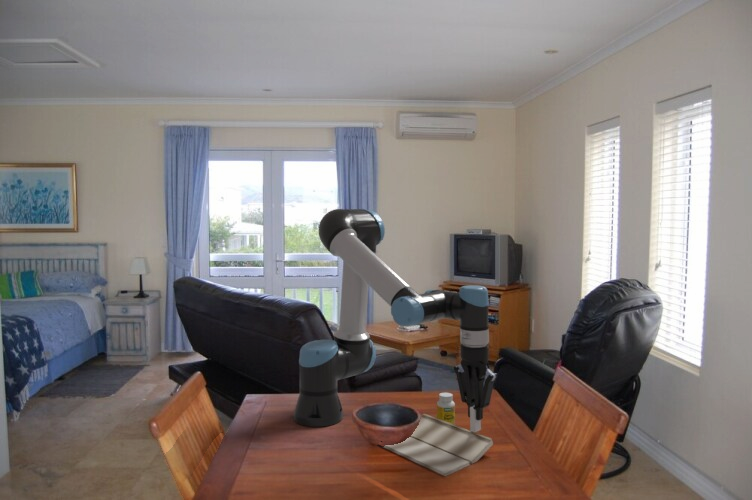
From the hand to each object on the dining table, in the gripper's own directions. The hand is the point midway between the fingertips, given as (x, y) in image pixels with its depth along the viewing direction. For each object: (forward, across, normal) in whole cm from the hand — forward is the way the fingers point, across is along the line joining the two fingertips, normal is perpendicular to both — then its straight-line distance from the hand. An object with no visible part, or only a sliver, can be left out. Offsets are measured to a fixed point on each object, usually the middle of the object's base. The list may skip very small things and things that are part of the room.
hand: (475, 430), depth 148 cm
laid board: (+5, -6, -15) cm, 17 cm away
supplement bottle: (+5, -16, +6) cm, 18 cm away
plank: (+3, -6, -4) cm, 8 cm away
